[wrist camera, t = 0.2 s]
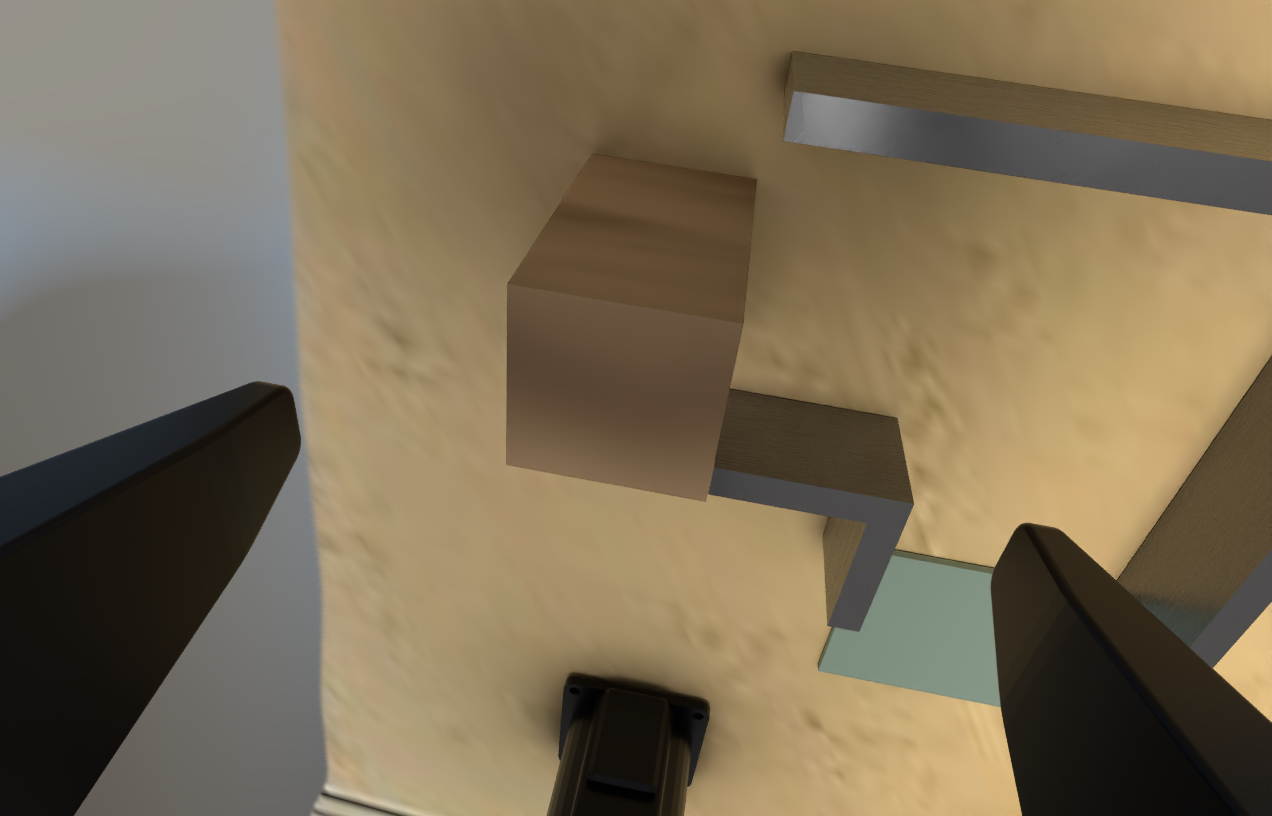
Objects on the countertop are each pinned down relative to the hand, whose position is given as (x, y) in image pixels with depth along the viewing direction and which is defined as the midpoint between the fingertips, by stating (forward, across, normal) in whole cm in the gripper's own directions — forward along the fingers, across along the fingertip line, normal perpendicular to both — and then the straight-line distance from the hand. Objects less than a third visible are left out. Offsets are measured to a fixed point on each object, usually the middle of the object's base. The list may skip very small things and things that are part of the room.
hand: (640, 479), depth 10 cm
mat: (+14, -11, +16) cm, 24 cm away
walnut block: (+14, +1, +3) cm, 14 cm away
